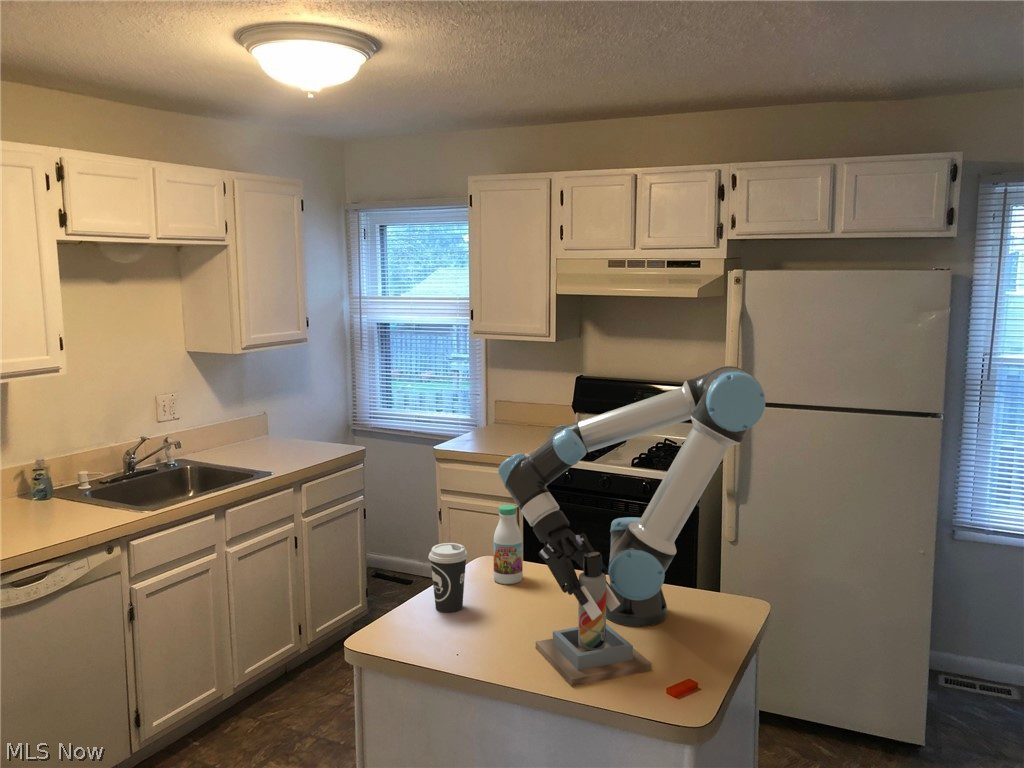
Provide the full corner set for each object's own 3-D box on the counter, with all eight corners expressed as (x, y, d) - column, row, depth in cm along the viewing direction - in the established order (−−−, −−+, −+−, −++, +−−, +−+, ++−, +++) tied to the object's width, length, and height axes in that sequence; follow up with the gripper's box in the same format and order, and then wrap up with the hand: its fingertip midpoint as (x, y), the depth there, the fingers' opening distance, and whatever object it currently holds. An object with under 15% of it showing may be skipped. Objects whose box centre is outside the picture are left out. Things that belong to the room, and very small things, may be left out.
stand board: (609, 634, 180) (609, 628, 179) (651, 670, 163) (651, 663, 163) (535, 648, 173) (535, 641, 173) (571, 686, 156) (571, 679, 156)
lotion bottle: (598, 653, 164) (599, 559, 161) (573, 647, 167) (574, 554, 164) (610, 643, 169) (611, 551, 166) (585, 637, 172) (586, 546, 169)
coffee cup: (463, 617, 189) (462, 555, 188) (424, 614, 191) (423, 553, 190) (473, 601, 199) (472, 543, 197) (436, 598, 201) (434, 540, 199)
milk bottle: (492, 575, 217) (492, 503, 214) (521, 574, 217) (520, 502, 215) (494, 585, 209) (494, 511, 207) (524, 584, 210) (523, 510, 207)
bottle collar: (604, 635, 176) (604, 622, 175) (632, 659, 164) (632, 645, 164) (552, 644, 171) (552, 631, 171) (578, 670, 160) (578, 656, 159)
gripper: (564, 518, 182) (622, 607, 173) (507, 537, 169) (567, 635, 160) (582, 500, 178) (643, 590, 169) (526, 518, 165) (588, 617, 155)
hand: (606, 612), depth 164 cm, fingers closed on lotion bottle, 5 cm apart
